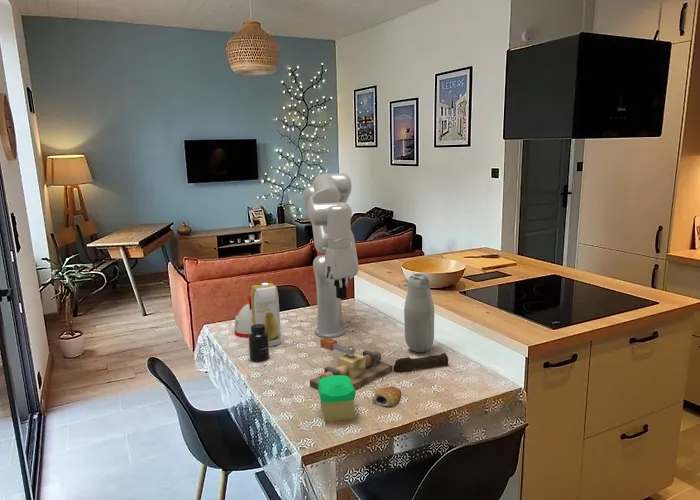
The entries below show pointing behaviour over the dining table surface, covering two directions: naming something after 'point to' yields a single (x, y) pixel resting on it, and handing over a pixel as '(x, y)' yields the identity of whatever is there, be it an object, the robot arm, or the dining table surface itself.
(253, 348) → the supplement bottle
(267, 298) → the juice carton
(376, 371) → the pipe board
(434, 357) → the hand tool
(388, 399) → the pastry
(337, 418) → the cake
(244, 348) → the dining table surface
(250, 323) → the white and red dome
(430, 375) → the dining table surface
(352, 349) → the valve lever
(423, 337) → the grey bottle
